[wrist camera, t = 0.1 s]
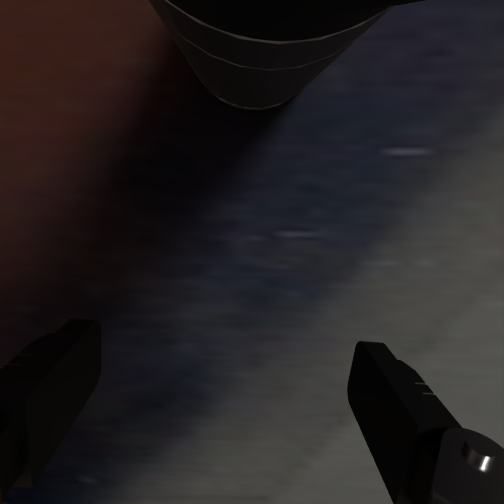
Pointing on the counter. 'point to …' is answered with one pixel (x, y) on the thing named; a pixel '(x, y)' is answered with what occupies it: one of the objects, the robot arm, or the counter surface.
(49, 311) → the counter surface
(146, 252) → the counter surface
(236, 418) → the counter surface
